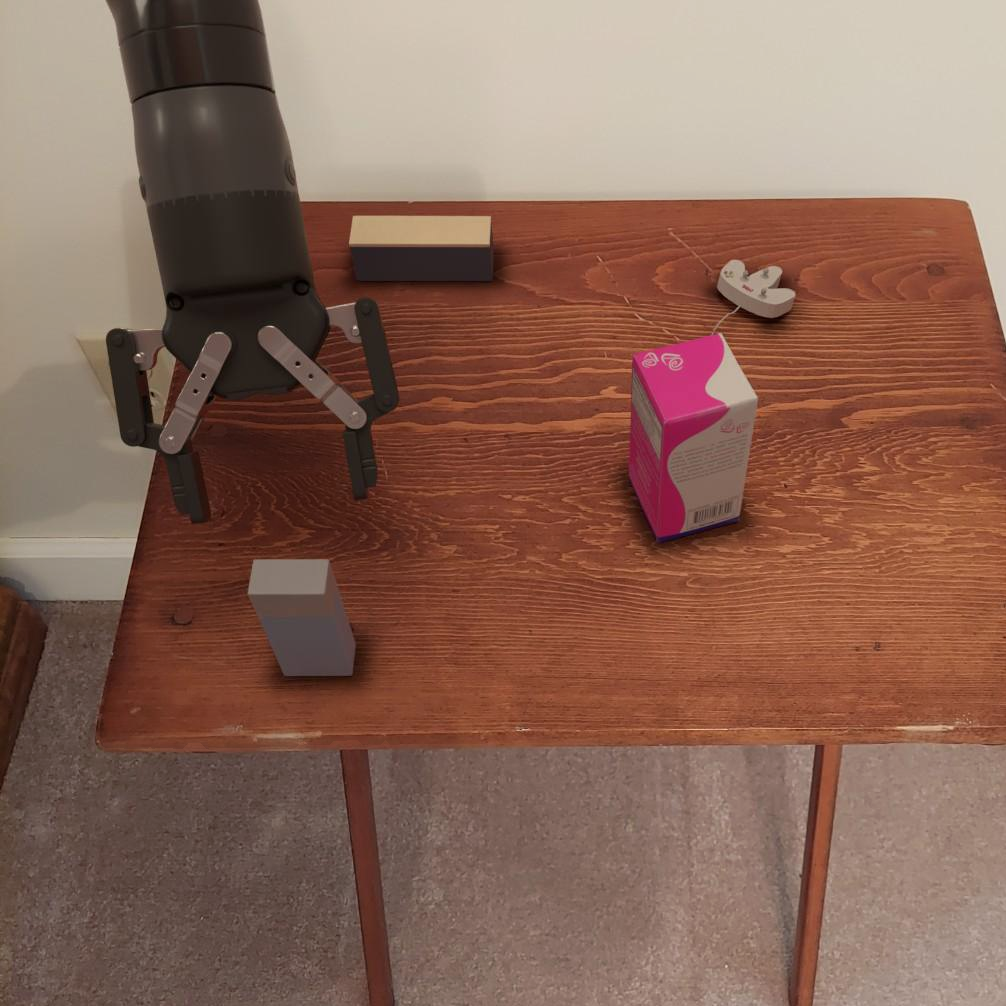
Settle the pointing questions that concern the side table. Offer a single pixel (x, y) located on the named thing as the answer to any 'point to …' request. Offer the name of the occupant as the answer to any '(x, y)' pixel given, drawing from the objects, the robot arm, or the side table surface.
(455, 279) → the stand
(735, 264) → the game controller
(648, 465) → the supplement box
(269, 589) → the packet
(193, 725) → the side table surface
